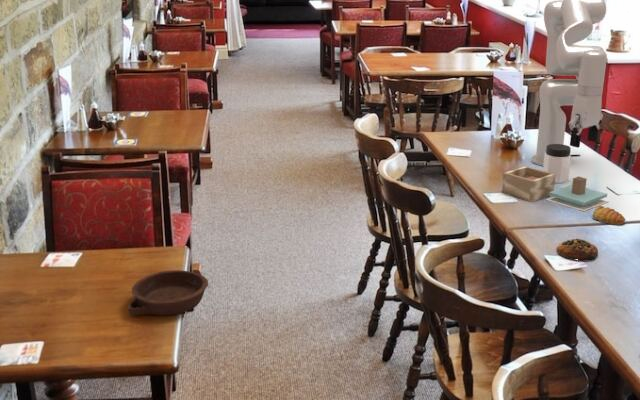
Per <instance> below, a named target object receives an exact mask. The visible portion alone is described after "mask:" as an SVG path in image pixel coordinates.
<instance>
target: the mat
mask: <svg viewBox="0 0 640 400" xmlns="http://www.w3.org/2000/svg"><path fill="white" fill-rule="evenodd" d="M545 200H546V202H551V203H554V204H556V205H560V206H563V207H567V208H570V209H573V210H577V211H579V212H584V213H585V212H587V211H590V210H593V209H596V208H597V207H598V206H603V205H604V204H607V203H609V201H608V200H605V199H600V200H597V201H595V202H593V203H590V204H588V205H585V206H583V207H580V206H577V205H574V204H570V203H567V202H564V201H560V200H558V198H557V197H554V196H551V197H549V198H547V199H545Z"/></svg>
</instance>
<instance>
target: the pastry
mask: <svg viewBox="0 0 640 400" xmlns="http://www.w3.org/2000/svg"><path fill="white" fill-rule="evenodd" d="M592 217H593V219H594V220H596V221H599V222H601V223H605V224H608V225H613V226H615V225H617V226H620V225H623V224H624V223H625V222H626V217H624V216H623V215H622V214H621V213H620V212H619V211H617V210H615V209H614V208H610V207H608V206H607V207H605V206H603V205H600V206H597V207H595V208H594V210H593V213H592Z"/></svg>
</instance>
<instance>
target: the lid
mask: <svg viewBox="0 0 640 400" xmlns="http://www.w3.org/2000/svg"><path fill="white" fill-rule="evenodd" d="M549 195H550V196H549V197H557V198H558V200H560V201H564V202H567V203H570V204H574V205H577V206H580V207H583V206H585V205H588V204H590V203H593V202H595V201H597V200H600V199H602V200H604V199H605V198H607V197H608V193H605V192H602V191H598V190H595V189H591V188H587V178H586V177H582V176H576V177H573V178H572V183H571V184H569V185H566V186H563V187H560V188H558V189H557V188H556V189H554V191H552V192H549Z"/></svg>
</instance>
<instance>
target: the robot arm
mask: <svg viewBox="0 0 640 400" xmlns="http://www.w3.org/2000/svg"><path fill="white" fill-rule="evenodd" d="M606 14H607V4H606V1H605V0H552V1H549V2H548V3H546V4H545V7H544V11H543V21H544V27H545V30H546V34H547V35H546V36H547V42H546V53H545V55H546V56H545V70H546V73H547V74H549V75H552V76H572V77H573V76H575V78H576V79H575V78H574V79H573V78H569V79H568V78H551V79H550V78H549V79H547V80H544V81H542V83H541V85H540V86H539V102H540V103H539V104H540V105H539V110H540V111H539V119H538V120H539V122H538V132H537V133H538V134H537V142H536V152H535V155H534V156H532V157H531V159H530V161H531V163H533V164H535V165H538V166H542V167H543V166H544V156H545V153H546V147H547V145H550V144H562V145H565V144H564V143H565V132H566V124H567V116H566V113H565V111H563V110H562V108H561V107H563V106H564V107H565V106H572V110H571V115H570V121H569V122H568V127H569V128H568V129H569V133H570V139H569V147H574V148H580V145H581V137H582V135H581V133H582V131H583V129H588V131H587V137H586V138H587V141H589V142H590V141H591V142H594V143H596V142H598V136H599V130H600V128H601V127H600V125H601V123H602V120H603V117H604V114H603V113H602V102H603V101H602V99H603V98H602V97H603V90H604V83H605V74H606V73H605V72H606V68H607V58H608V54H607V53H606V51H605V49H604V48H603V47H602V46H598V45H573V44H576V43H579V42H581V41H584V40H585V39H587V38H588V37H589V36H590V35H592V32H593V29H594V25H595V24H597V23H598V24H599V23H601V22H602V21H603V20H604V19H605V17H606Z"/></svg>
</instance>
